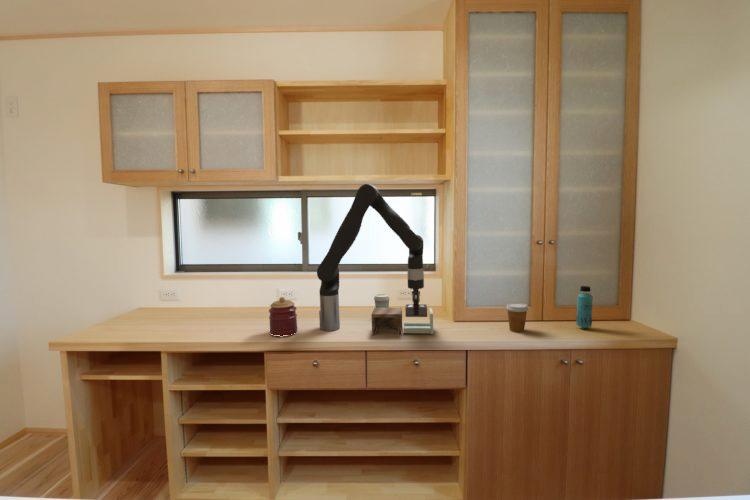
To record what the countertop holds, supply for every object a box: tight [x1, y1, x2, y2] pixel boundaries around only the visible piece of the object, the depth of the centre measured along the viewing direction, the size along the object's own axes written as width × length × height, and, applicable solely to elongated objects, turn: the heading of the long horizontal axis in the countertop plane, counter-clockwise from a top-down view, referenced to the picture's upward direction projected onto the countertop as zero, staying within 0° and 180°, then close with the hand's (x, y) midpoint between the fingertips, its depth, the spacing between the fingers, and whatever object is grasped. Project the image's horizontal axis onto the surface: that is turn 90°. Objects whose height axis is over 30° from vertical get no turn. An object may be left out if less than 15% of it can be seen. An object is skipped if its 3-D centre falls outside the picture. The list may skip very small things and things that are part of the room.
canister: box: [268, 296, 298, 336], centre depth 180 cm, size 13×13×18 cm
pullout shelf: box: [403, 307, 434, 335], centre depth 177 cm, size 14×10×9 cm
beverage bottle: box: [575, 285, 594, 328], centre depth 174 cm, size 6×7×20 cm
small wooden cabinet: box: [371, 307, 403, 337], centre depth 179 cm, size 14×12×10 cm
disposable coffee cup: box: [505, 302, 529, 333], centre depth 175 cm, size 10×10×12 cm
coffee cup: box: [373, 293, 391, 308], centre depth 203 cm, size 8×8×12 cm
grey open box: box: [404, 303, 428, 318], centre depth 177 cm, size 10×6×4 cm, turn 84°
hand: (416, 313), depth 177 cm, fingers closed on grey open box, 5 cm apart
